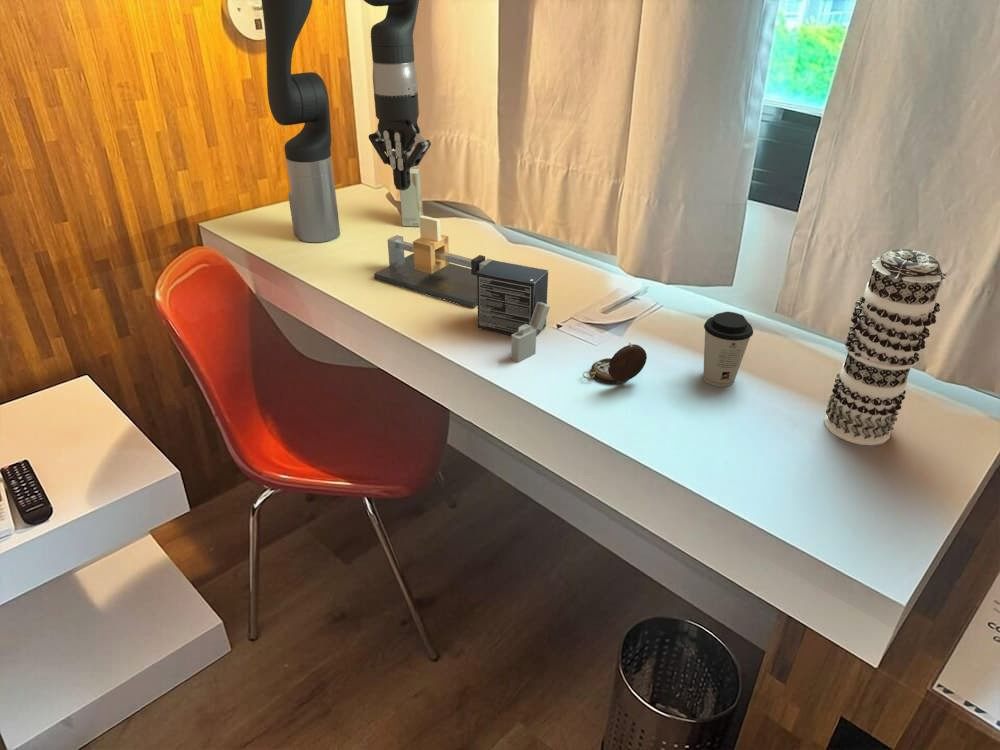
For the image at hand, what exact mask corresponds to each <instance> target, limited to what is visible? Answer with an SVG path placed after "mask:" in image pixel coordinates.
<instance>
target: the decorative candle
mask: <svg viewBox="0 0 1000 750" xmlns="http://www.w3.org/2000/svg"><path fill="white" fill-rule="evenodd" d="M871 266H872V267H873V269H872V270H871V271H872V272H871V275H870V279H869V281H868V282H867V283H866V287H865V290H864V293H863V295H862V296H861V297H859V299H858V300H856V301H855V306H854V308H853V309H854V310H853V312H852V316H851V319H850V321H851V322H852V324H851V325H850V326H849V331H848V333H847V337H846V341H845V343H844V346H845V349H846V351H847V355H846V359H845V361H844V362H843V364H842V367H841V370H840V372H838V373H837V374H836V378H835V379H834V384H833V388H832V390H831V392H832V393H831V394H830V396H829V400H828V404H827V406H826V409H825V416H824V420H823V423H824V424H825V427H826V429H827V430H828V431H830V432H831V433H832V434H833V435H834V436H836V437H838V438H840V439H841V440H844V441H845V442H847V443H852V444H856V445H858V446H859V445H861V446H872V447H874V446H879V445H883V444H885V443H886V442H887V441H888V440H889V439H890V437H891V431H894V425H895V424H896V423H895V422H897V421H898V417H897V416H898V415H899V412H898V411H900V410H901V409H902V403H903V401H904V400H905V399H906V387H907V383H908V376H909V374H910V371H911V368H913V367H914V366H916V365H917V363H918V362H919V361H920V354H919V353H918V352H920V350H923V349H925V348H926V341H925V339H926V338H929V337H930V335H931V334H930V330H929V328H928V327H930V326H931V325H934V324H936V323H937V315H936V314H937V313H938V312H940V311H941V308H940V306H941V305H940V303H938V302H937V301H938V300H937V297H938V293H939V290H940V287H941V284H942V281H943V280H945V279H946V278H947V273H946V272H945V271H944V270H943V268H941V266H940V263H939V261H938V260H937V259H936V258H935V257H934V256H933V255H930V254H928V253H926V252H923V251H919V250H916V249H915V250H913V249H905V248H896V249H891V250H889V251H888V252H885V253H883V254H882V255H881V256H878V257H876V258H874V259H872V261H871ZM862 304H863V305H862Z"/></svg>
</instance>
